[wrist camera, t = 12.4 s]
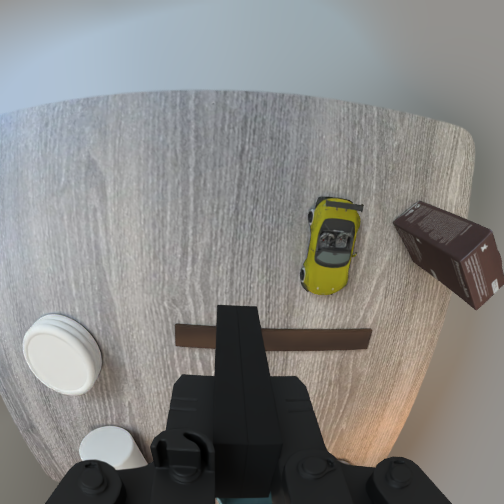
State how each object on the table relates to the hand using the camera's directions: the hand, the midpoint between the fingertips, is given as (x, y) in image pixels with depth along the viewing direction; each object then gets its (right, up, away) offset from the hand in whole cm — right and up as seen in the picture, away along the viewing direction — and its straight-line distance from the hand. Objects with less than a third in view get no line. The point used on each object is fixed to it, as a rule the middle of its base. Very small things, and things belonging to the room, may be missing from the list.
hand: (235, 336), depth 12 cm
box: (+19, +5, +20) cm, 28 cm away
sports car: (+8, +4, +19) cm, 21 cm away
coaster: (-22, -8, +21) cm, 31 cm away
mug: (-18, -26, +26) cm, 41 cm away
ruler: (+3, -6, +22) cm, 23 cm away
